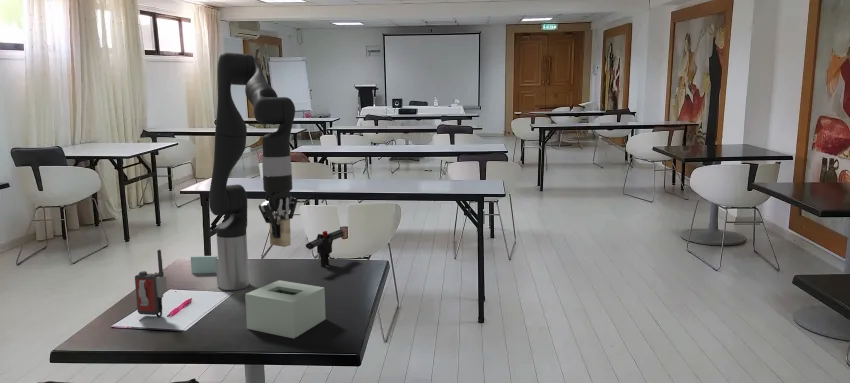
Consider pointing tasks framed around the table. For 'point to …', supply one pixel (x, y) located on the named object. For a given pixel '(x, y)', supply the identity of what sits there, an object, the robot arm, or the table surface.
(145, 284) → the walkie-talkie
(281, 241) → the light brown upright block
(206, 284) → the table surface
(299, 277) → the table surface
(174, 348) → the table surface
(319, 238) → the black tube on stand
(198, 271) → the right angle wall
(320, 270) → the table surface
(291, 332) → the box
